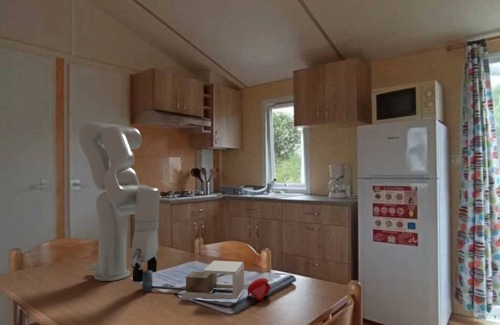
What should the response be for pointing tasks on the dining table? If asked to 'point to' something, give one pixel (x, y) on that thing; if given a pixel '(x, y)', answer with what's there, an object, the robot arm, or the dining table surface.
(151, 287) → the knobbed lever joystick
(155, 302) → the dining table surface
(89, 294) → the dining table surface
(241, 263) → the lever switch box
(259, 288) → the cap
